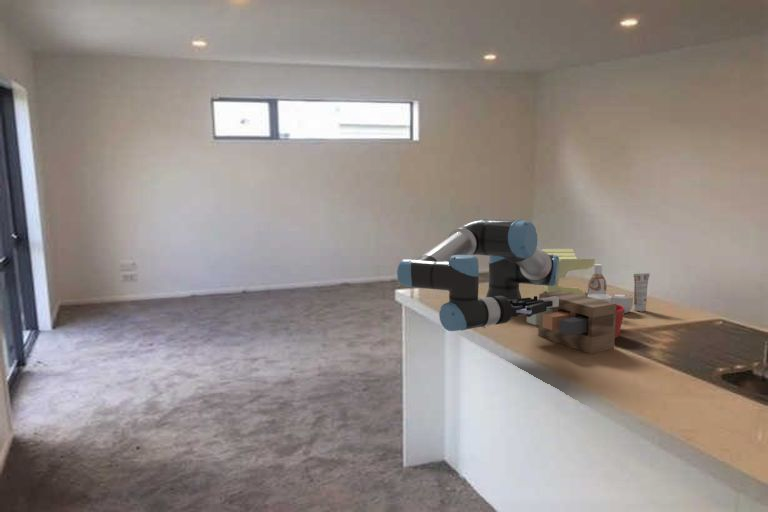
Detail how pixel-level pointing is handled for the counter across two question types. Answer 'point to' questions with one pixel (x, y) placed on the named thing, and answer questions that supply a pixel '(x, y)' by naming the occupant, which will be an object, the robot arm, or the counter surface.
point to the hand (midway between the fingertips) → (556, 301)
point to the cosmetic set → (640, 293)
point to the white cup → (600, 297)
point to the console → (598, 322)
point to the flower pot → (618, 319)
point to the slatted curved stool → (567, 268)
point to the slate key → (574, 325)
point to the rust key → (554, 319)
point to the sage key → (539, 317)
